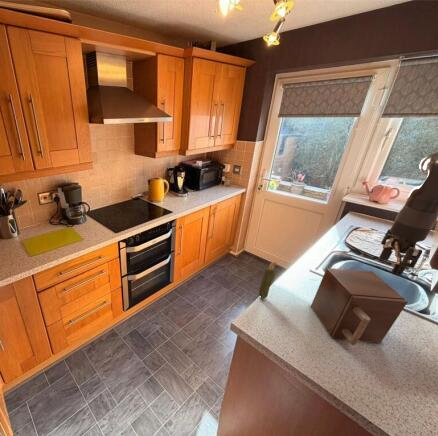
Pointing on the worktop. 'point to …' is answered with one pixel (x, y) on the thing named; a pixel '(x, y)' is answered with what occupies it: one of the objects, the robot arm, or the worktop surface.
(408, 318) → the worktop surface
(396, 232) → the robot arm
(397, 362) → the worktop surface
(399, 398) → the worktop surface
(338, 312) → the cupboard
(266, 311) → the worktop surface
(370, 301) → the shelf door
